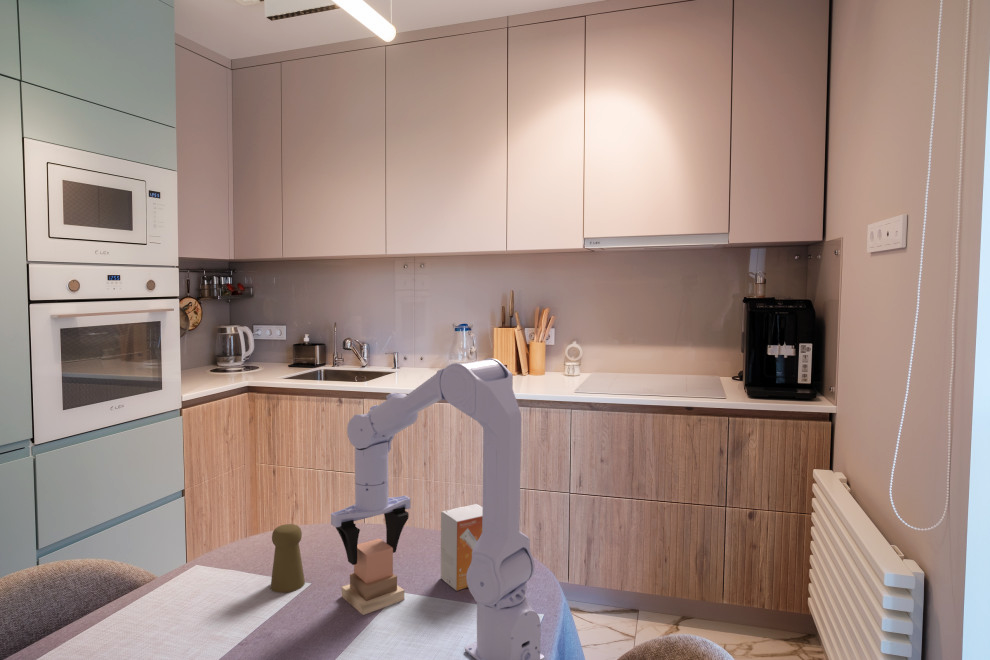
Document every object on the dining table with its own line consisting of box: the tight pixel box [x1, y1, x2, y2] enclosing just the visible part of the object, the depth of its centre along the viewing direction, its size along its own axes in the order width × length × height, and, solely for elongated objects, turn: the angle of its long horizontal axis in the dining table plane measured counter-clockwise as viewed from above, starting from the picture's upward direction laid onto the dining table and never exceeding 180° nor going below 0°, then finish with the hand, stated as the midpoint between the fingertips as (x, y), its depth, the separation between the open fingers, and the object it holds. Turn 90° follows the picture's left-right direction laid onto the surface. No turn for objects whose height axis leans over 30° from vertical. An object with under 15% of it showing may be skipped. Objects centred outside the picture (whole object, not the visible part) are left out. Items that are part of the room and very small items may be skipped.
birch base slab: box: [341, 583, 405, 616], centre depth 106 cm, size 8×8×2 cm
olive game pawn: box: [269, 523, 306, 594], centre depth 110 cm, size 6×6×11 cm
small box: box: [440, 503, 483, 592], centre depth 113 cm, size 8×6×13 cm
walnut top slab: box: [349, 572, 398, 601], centre depth 106 cm, size 6×6×2 cm
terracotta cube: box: [353, 538, 394, 584], centre depth 106 cm, size 5×5×5 cm
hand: (372, 556), depth 106 cm, fingers open, 7 cm apart
